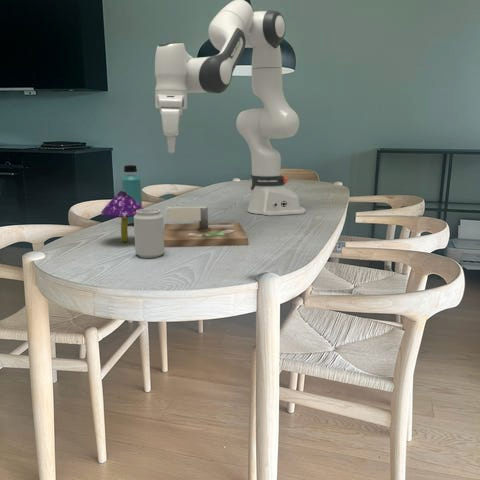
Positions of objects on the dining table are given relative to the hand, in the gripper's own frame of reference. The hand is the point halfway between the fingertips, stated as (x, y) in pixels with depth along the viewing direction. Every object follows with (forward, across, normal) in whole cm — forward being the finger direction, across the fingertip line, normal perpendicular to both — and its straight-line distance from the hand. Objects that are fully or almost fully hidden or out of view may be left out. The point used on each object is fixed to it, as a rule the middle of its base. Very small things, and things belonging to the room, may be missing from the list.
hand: (171, 152), depth 139 cm
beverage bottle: (+26, -22, -14) cm, 36 cm away
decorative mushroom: (+26, +3, -14) cm, 29 cm away
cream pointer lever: (+23, -2, +8) cm, 24 cm away
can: (+26, +18, -5) cm, 32 cm away
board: (+25, -2, +9) cm, 27 cm away
